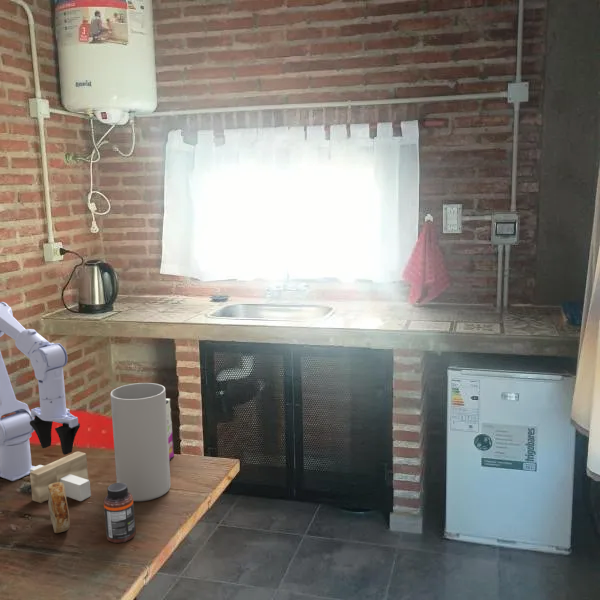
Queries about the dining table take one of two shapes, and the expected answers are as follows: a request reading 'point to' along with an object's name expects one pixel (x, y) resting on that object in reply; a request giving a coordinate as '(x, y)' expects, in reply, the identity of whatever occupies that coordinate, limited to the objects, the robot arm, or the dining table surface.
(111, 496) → the supplement bottle
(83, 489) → the white building blocks
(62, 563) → the dining table surface
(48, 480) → the light wood plank
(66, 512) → the toasted sandwich
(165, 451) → the cylinder vase
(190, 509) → the dining table surface
